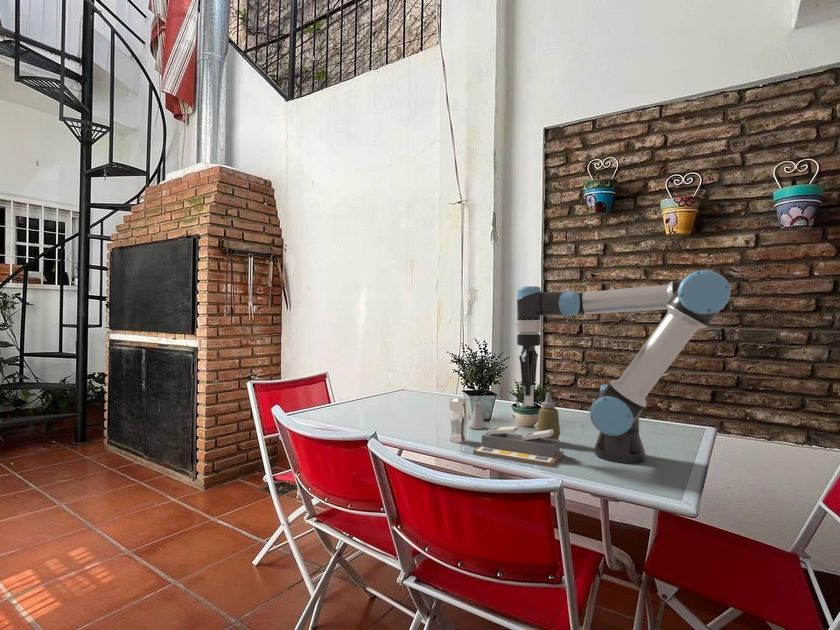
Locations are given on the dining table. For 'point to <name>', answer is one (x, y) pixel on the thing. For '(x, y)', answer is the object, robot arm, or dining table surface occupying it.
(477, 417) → the flask
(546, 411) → the squeeze bottle
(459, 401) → the beer glass
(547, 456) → the switch box
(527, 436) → the near switch
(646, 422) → the dining table surface
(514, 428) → the far switch
